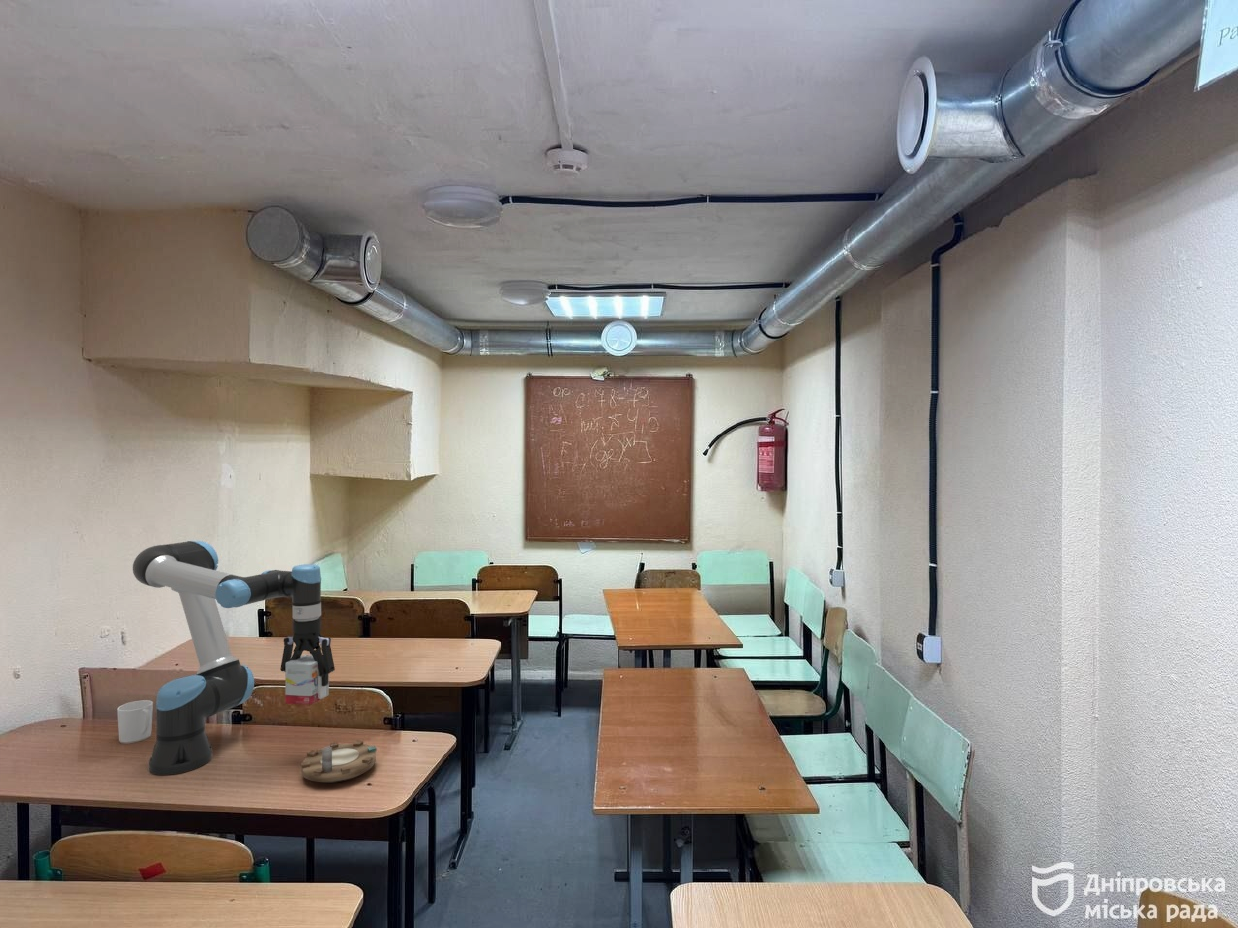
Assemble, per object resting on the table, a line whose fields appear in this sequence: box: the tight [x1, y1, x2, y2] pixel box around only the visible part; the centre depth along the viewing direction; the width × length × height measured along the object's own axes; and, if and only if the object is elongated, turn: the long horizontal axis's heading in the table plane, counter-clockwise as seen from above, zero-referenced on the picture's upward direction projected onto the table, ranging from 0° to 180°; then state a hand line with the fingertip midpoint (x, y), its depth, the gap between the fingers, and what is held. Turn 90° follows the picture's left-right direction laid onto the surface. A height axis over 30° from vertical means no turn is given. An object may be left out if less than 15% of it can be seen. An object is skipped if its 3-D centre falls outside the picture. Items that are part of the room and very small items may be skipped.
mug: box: [116, 699, 154, 745], centre depth 201 cm, size 11×9×10 cm
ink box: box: [284, 654, 330, 706], centre depth 187 cm, size 9×9×12 cm
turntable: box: [300, 739, 377, 783], centre depth 181 cm, size 19×19×8 cm
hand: (307, 695), depth 187 cm, fingers closed on ink box, 9 cm apart
